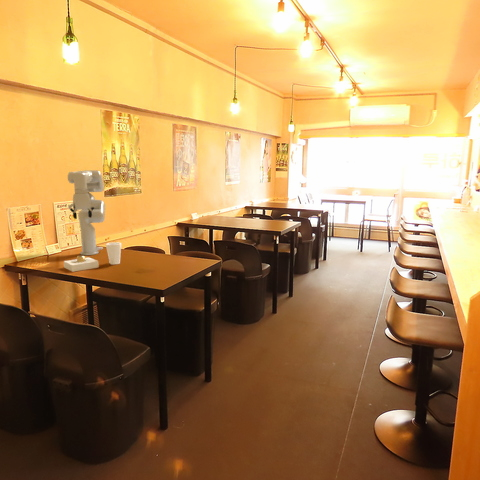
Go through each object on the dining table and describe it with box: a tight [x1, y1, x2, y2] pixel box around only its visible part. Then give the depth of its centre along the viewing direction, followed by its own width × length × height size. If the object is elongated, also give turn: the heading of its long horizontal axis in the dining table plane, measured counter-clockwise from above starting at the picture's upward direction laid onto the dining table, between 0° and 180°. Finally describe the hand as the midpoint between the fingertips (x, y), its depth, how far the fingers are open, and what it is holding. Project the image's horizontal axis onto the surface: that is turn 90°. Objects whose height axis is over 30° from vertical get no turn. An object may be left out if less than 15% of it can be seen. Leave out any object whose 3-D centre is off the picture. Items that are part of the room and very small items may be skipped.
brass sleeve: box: [76, 255, 86, 262], centre depth 251 cm, size 4×4×7 cm
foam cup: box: [105, 241, 122, 265], centre depth 260 cm, size 10×9×13 cm
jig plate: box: [63, 256, 100, 272], centre depth 251 cm, size 16×14×4 cm
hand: (82, 218), depth 266 cm, fingers open, 9 cm apart
